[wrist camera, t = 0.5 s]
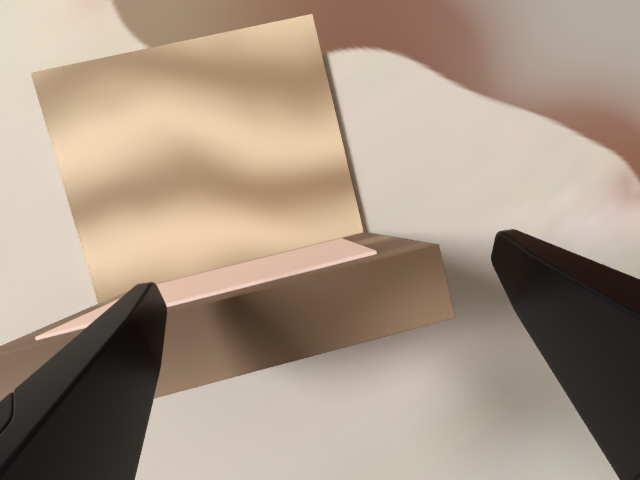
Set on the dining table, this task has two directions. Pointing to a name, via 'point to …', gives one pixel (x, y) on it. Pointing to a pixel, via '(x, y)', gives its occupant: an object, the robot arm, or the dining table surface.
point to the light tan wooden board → (199, 153)
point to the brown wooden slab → (271, 310)
